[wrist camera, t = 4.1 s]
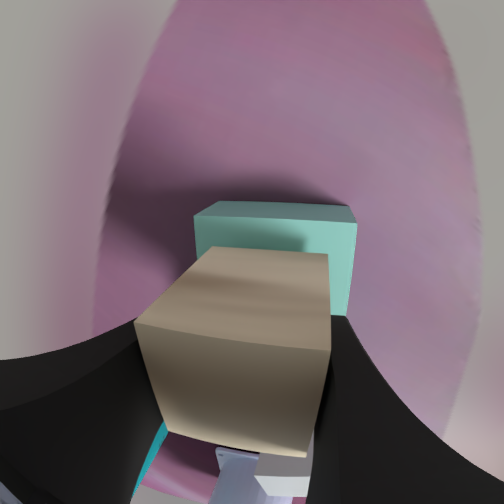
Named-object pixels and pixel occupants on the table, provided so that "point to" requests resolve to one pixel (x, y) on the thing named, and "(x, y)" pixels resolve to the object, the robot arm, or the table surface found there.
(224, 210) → the teal block
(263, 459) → the grey block
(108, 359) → the robot arm
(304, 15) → the table surface
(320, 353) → the birch block
